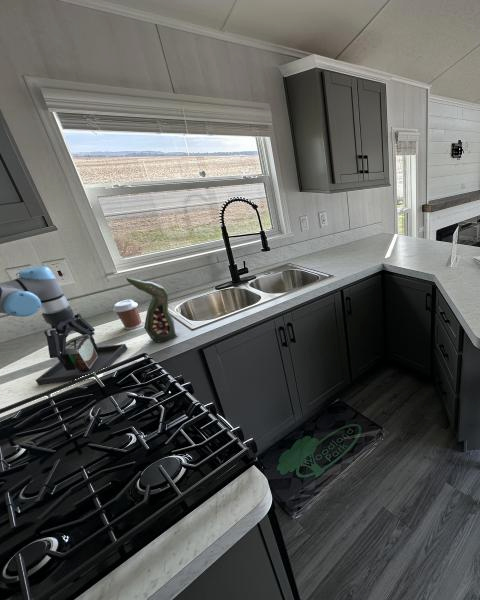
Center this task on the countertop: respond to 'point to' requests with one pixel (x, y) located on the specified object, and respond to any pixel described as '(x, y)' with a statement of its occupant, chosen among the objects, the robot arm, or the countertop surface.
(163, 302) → the tentacle
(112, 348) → the storage tray
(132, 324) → the coffee cup
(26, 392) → the countertop surface
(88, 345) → the food container
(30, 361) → the countertop surface
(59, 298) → the robot arm
